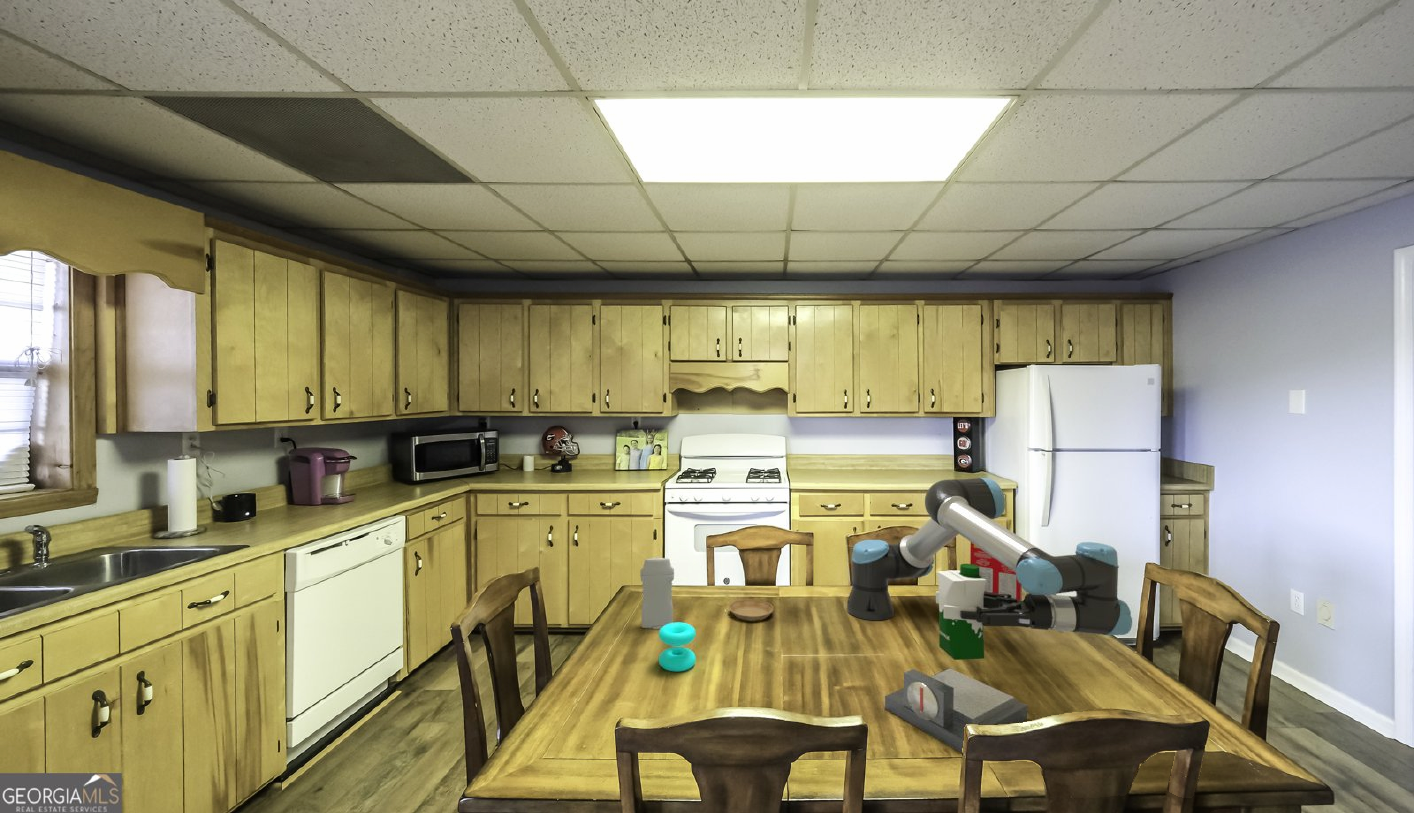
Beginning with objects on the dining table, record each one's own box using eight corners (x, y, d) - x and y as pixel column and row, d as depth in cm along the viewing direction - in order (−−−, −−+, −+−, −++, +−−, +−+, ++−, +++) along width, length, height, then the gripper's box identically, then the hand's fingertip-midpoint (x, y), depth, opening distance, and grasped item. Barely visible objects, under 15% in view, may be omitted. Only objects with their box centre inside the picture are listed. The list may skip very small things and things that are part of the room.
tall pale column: (673, 623, 180) (673, 555, 179) (674, 628, 176) (674, 558, 175) (640, 624, 179) (640, 556, 179) (640, 630, 175) (640, 559, 174)
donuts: (652, 632, 149) (667, 618, 159) (652, 670, 150) (667, 653, 159) (687, 638, 146) (700, 623, 155) (687, 676, 146) (700, 659, 156)
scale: (883, 709, 131) (883, 664, 130) (947, 680, 144) (948, 639, 144) (963, 755, 114) (963, 704, 114) (1027, 718, 127) (1027, 672, 127)
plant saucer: (748, 603, 198) (748, 595, 198) (782, 614, 188) (782, 606, 188) (719, 615, 187) (719, 607, 187) (754, 628, 177) (754, 619, 177)
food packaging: (1021, 618, 184) (1022, 542, 184) (1020, 623, 180) (1021, 546, 179) (972, 609, 192) (972, 536, 191) (969, 614, 188) (970, 539, 187)
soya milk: (990, 660, 126) (990, 571, 126) (951, 662, 125) (951, 572, 125) (969, 643, 135) (969, 560, 135) (932, 645, 134) (932, 561, 134)
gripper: (1067, 649, 115) (949, 639, 120) (1030, 610, 136) (931, 603, 141) (1067, 613, 115) (949, 604, 120) (1030, 580, 136) (931, 573, 141)
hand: (940, 604), depth 131 cm, fingers closed on soya milk, 9 cm apart
